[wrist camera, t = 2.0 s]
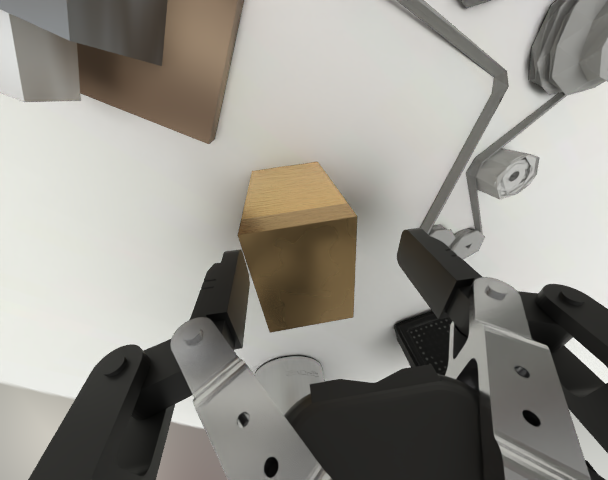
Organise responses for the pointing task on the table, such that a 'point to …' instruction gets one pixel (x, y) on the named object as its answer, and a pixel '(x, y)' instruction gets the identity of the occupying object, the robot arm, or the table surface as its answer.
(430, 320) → the portable radio
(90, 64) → the shaft mount
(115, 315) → the table surface
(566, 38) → the pulley system
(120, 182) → the table surface
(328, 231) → the tan rectangular block
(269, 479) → the robot arm
